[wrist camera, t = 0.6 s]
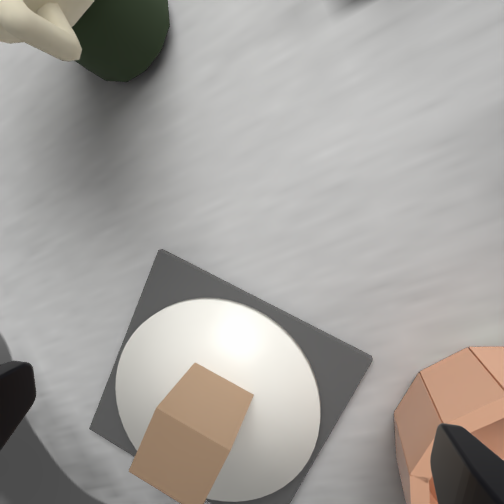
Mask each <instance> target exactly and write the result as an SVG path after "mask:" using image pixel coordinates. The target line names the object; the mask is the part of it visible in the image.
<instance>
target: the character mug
mask: <svg viewBox="0 0 504 504" xmlns="http://www.w3.org/2000/svg"><path fill="white" fill-rule="evenodd" d="M169 25H170V23H169V11H168V0H0V41H1V42H5V43H20V42H25V43H27V44H29V45H31V46H33V47H35V48H37V49H39V50H41V51H43V52H46V53H48V54H50V55H52V56H54V57H56V58H58V59H60V60H62V61H76V62H77V63H79V64H80V65H82V66H83V67H85V68H86V69H88V70H89V71H91V72H93V73H94V74H96V75H97V76H99V77H101V78H102V79H104V80H106V81H120V82H128V81H129V80H131V79H133V78H134V77H136V76H138V75H139V74H141V73H142V72H144V71H146V69H147V68H148V67H149V66H150V64H151V63H152V62H153V60H154V59H155V58H156V57H157V55H158V54H159V53H160V52H161V50H162V47H163V44H164V41H165V38H166V34H167V31H168V28H169Z"/></svg>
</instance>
